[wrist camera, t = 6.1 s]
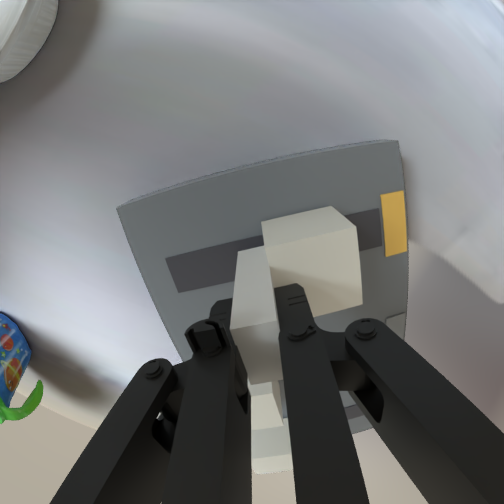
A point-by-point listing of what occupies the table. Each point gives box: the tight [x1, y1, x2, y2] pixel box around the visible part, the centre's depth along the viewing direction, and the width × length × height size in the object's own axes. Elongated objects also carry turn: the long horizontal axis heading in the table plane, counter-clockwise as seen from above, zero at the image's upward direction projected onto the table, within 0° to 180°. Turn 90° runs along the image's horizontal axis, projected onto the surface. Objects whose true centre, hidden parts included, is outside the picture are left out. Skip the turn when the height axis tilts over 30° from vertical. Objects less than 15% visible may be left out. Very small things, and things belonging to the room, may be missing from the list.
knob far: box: [251, 418, 293, 474], centre depth 21 cm, size 4×4×4 cm
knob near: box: [261, 206, 363, 317], centre depth 14 cm, size 4×4×4 cm
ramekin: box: [0, 0, 58, 83], centre depth 9 cm, size 11×11×5 cm
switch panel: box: [116, 140, 408, 434], centre depth 21 cm, size 17×28×2 cm, turn 14°
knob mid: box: [248, 379, 284, 430], centre depth 18 cm, size 4×4×4 cm
